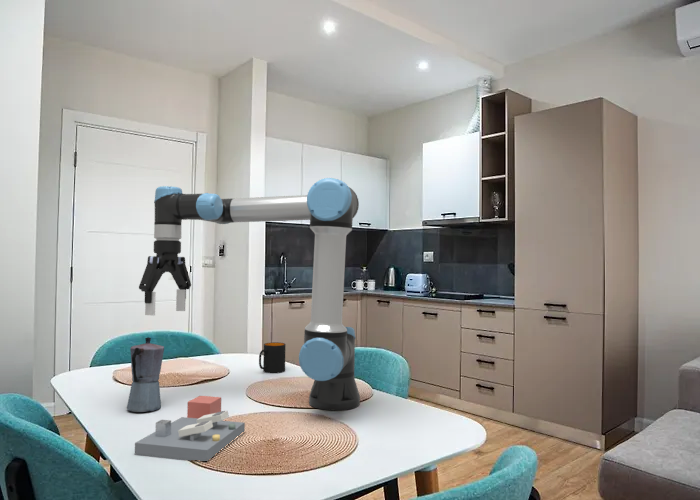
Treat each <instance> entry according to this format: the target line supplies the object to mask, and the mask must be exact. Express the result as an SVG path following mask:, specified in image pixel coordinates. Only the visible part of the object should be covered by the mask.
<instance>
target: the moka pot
mask: <svg viewBox="0 0 700 500" xmlns="http://www.w3.org/2000/svg"><path fill="white" fill-rule="evenodd" d="M151 341H152V338H151V337H145V343H142V344H137V345H132V346H131V347H130V362H131V363H130V364H131V365H130V366H131V377H132V378H131V380H132V382H131V384H130V385H131V386H130V391H129V395H128V400H127V404H126V410H127V411H129V412H134V413H135V412H136V413H144V412H146V413H147V412H153V411H157V410H160V409H161V408H162V401H161V399H162V398H161V390H160V389H161V388H160V381H159V380H160V374H161V372H162V363H163V360H164V359H163V357H164V352H165V346H164V345H159V344H155V343H151Z"/></svg>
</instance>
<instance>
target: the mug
mask: <svg viewBox="0 0 700 500" xmlns="http://www.w3.org/2000/svg"><path fill="white" fill-rule="evenodd" d="M262 354H263V362H262ZM262 364H263V365H262ZM258 365H259V368H260V369H261V370H262V371H263V373H265V374H283V373H285V372H286V343H285V342H266V343H263V349H262V350H261V351H260V353H259V357H258Z"/></svg>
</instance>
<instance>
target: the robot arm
mask: <svg viewBox="0 0 700 500" xmlns="http://www.w3.org/2000/svg"><path fill="white" fill-rule="evenodd" d="M359 203H360V202H359V198H358V195H357V193H356V192H355V191H354V189H352V188H351V187H349V186H348V184H347V183H346V182H344V181H343V180H341V179H338V178H333V177H325V178H321V179H319V180H318V181H316V182H315V183H314V184H312V186H311V187H310V188H309V190H308V192H307V194H301V195H280V196H279V195H278V196H277V195H275V196H260V197H258V196H257V197H256V196H255V197H236V198H221V197H220V195H219V194H216V193H208V192H204V193H183V190H182V188H180V187H178V186H172V185H171V186H169V185H168V186H167V185H166V186H165V185H162V186H158V187H156V188H155V193H154V224H153V225H154V227H153V229H154V230H153V231H154V233H153V234H154V235H153V238H154V239H155V240H154V241H153V252H154V253H155V254H156V255H153V256H151V255H149V256H148V257H147V264H146V267H145V269H144V271H143V275H142V278H141V280H140V283H139V285H138V289H139V290H141V292H144V305H145V307H144V308H145V309H144V315H145V316H156V293H157V292H156V291H154V290H155V288H156V287H157V286H158V283H159V281H160V280H161V278H162V276H163V274H165V273H170V274H171V276H172V279H173V281H174V282H175V284H176V286H177V288H178V289H176V297H175V298H176V299H175V300H176V308H175V311H176V312H186V299H187V290H190V288H191V286H192V284H191V283H192V282H191V279H190V275H189V272H188V268H187V266H186V257H185V256H179V254H180V253H182V241H180V240H182V223H183V222H182V220H183V221H185V220H186V221H187V220H189V221H190V220H191V221H192V220H193V221H194V220H196V221H204V222H209V223H216V224H219V225H226V224H227V225H229V224H232V223H252V222H253V223H254V222H257V223H258V222H283V221H284V222H287V221H289V222H290V221H309V229H310V230H311V231H312V232H313V233H314V246H313V247H314V249H313V265H312V267H313V268H312V269H313V270H312V285H311V286H312V289H311V290H312V291H311V307H310V308H311V309H310V321H309V323H307V325H306V326H305V327H304V334H303V335H304V336H303V344H302V346H301V348H300V350H299V353H298V363H299V367H300V369H301V370H302V372H303V373H304V374H305V375H306V376H307V377H308V378H310V379H312V380H314V381H313V383H312V387H311V390H310V392H309V396H308V404H309V406H310V407H312V408H315V409H320V410H325V411H345V410H351V409H355V408H358V407H359V405H360V404H361V396H360V392H359V390H358V389H359V388H358V385H357V383H356V379H355V363H356V362H355V359H356V358H355V357H356V356H355V354H356V346H355V345H356V344H355V343H356V333H355V329H354V328H353V327H351V326H345V325H344V324H343V309H344V293H345V292H344V289H345V269H346V268H345V267H346V250H347V249H346V247H347V235H349V234H350V233H351V232H352V231H353V220H354V218H355V217H356V215H357V213H358V211H359V206H360V205H359Z"/></svg>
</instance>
